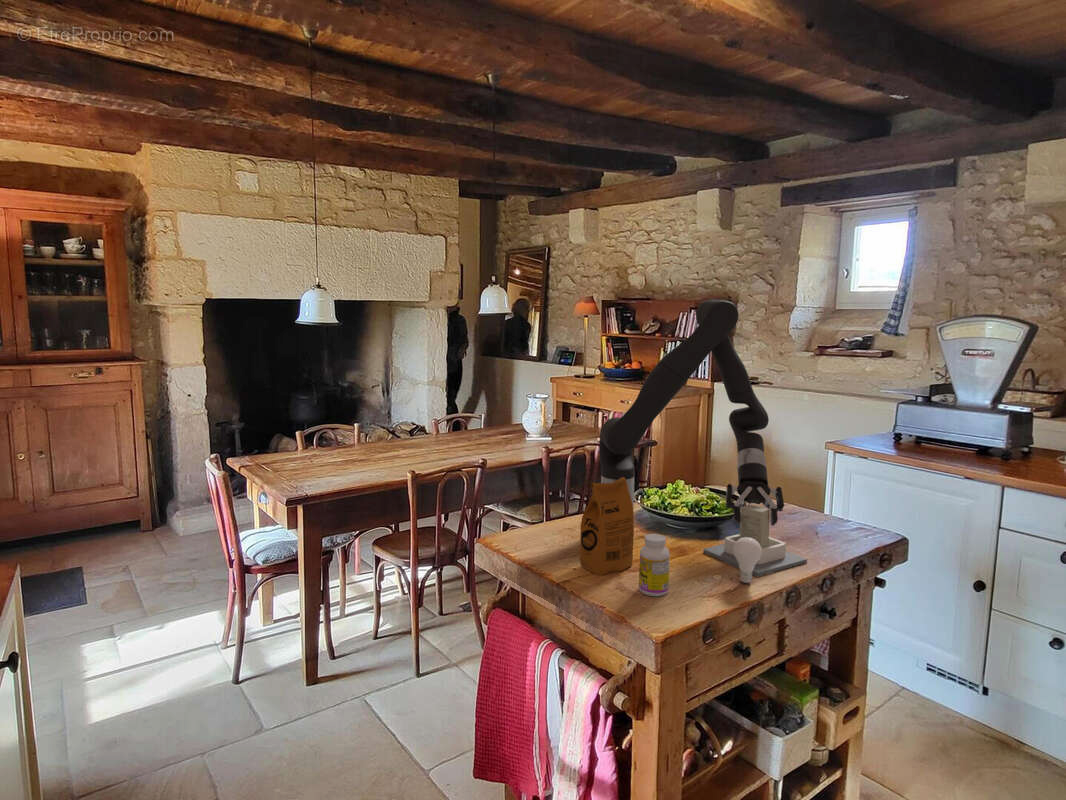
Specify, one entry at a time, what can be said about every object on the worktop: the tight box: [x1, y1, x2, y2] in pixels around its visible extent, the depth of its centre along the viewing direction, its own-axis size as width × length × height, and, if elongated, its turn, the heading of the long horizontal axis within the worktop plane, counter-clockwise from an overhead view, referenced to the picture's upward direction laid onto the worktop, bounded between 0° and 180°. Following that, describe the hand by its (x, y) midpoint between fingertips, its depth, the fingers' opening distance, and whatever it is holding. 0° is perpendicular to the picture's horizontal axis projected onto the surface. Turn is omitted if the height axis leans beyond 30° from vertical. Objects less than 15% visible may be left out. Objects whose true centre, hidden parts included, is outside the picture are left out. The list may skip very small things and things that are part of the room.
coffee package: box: [579, 477, 635, 576], centre depth 162 cm, size 10×12×22 cm
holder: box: [703, 533, 808, 577], centre depth 169 cm, size 18×18×4 cm
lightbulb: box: [733, 537, 762, 584], centre depth 153 cm, size 6×6×11 cm
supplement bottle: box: [638, 533, 671, 597], centre depth 148 cm, size 7×7×13 cm
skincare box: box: [739, 504, 771, 549], centre depth 169 cm, size 6×4×12 cm
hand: (755, 523), depth 168 cm, fingers open, 8 cm apart
